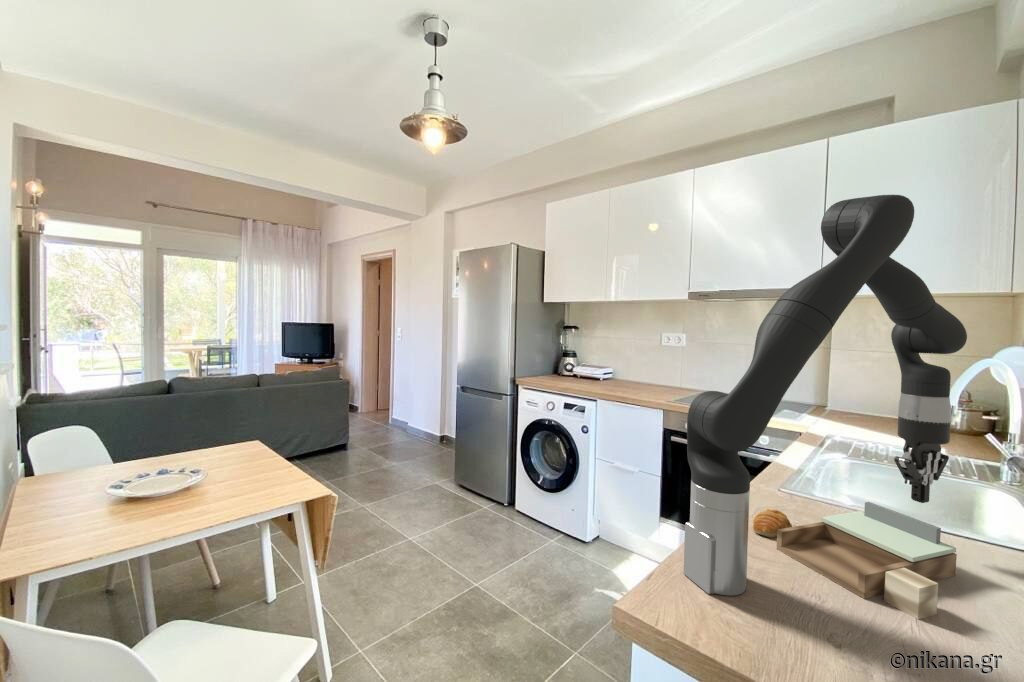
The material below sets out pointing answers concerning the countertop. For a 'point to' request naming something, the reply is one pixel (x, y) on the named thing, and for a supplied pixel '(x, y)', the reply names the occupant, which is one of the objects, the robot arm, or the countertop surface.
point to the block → (911, 593)
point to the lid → (892, 532)
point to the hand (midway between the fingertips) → (920, 501)
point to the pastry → (770, 522)
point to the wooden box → (854, 558)
